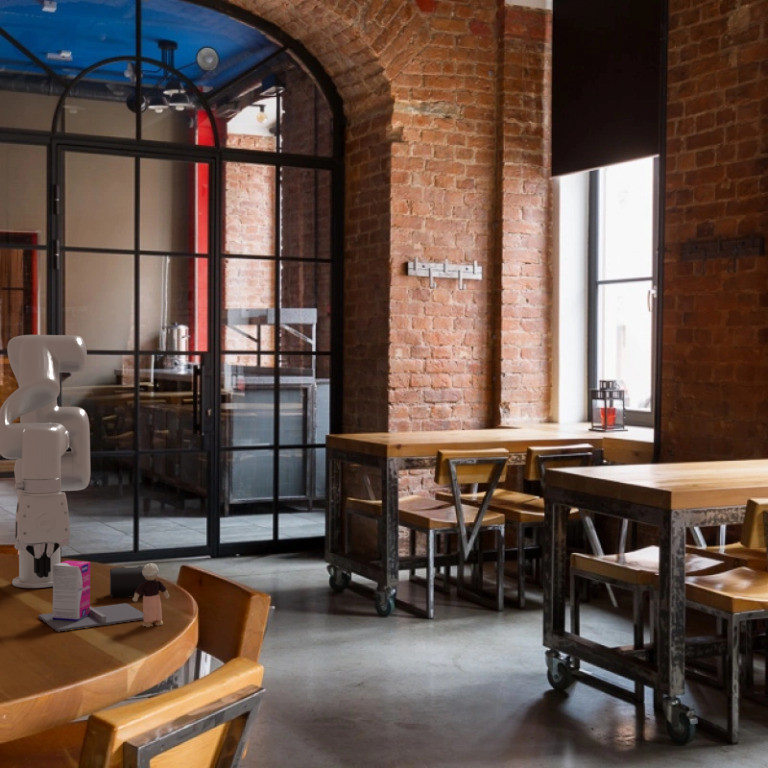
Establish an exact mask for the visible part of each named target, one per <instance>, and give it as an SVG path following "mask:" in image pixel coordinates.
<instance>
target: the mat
mask: <svg viewBox="0 0 768 768" xmlns="http://www.w3.org/2000/svg"><path fill="white" fill-rule="evenodd" d="M52 615H53V612H52V613H51V612H50V613H44V614H43V613H42V614H38V619H40V620H41V621H42V620H43V622H44V623H45V622H46V623H47V624H46V623H45V624H46V625H47V626H49V627H50V628H52V630H54V629H55V630H54V631H55V632H57V631H58V632H57V633H61V632H60V631H65V632H67V631H66V630H71V629H78V628H85V627H92V626H100V625H107V626H110V625H109V624H114V625H117V624H116V623H121V624H123V623H122V622H128V623H131V622H130V621H134V622H136V621H135V620H141V621H144V619H143V611H141V610H139V609H137V608H135V607H134V606H132V605H131V604H129V603H125V602H124V603H119V604H118V603H117V604H112V605H110V604H109V605H102V606H94V607H92V606H91V605H90V615H89V616H86V617H84V618H82V619H80V620H78V621H77V622H73V621H55V620H52ZM100 627H101V626H100Z"/></svg>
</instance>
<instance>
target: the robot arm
mask: <svg viewBox="0 0 768 768" xmlns="http://www.w3.org/2000/svg"><path fill="white" fill-rule="evenodd" d="M86 346H87V345H86V342H85V341H84V339H83V337H82V336H80V335H76V334H74V335H72V334H71V335H70V334H68V335H67V334H65V335H64V334H57V335H56V334H53V335H52V334H25V335H24V334H23V335H18V336H14V337H12V338H11V339H10V340H8V343H7V348H6V349H7V356H8V358H7V359H8V362H9V365H10V368H11V370H12V372H13V373H12V374H13V375H14V377H15V379H16V382H17V385H18V388H17V389H16V390H14V392H12V393H11V394H10V395H9V396H8V397H7V398H6V399H5V400H4V402H3V404H2V405H1V407H0V456H2V458H4V459H8V460H15V463H14V469H13V471H14V479H15V483H14V489H15V490H16V491H17V492H16V493H17V494H16V495H17V504H16V512H15V519H14V521H15V522H14V523H15V524H14V538H15V543H14V549H16V550H18V566H19V567H18V571H19V573H18V574H19V575H18V576H16V577H14V578H13V579H12V586H14V587H16V588H22V589H40V588H42V589H45V588H53V565H56V564H58V563H61V548H63V547H66V546H69V544H70V540H69V539H70V534H71V533H70V531H71V527H70V514H69V508H68V500H67V495H66V492H72V491H73V492H74V491H82V490H85V489H86V488H87V487H88V486H89V485H90V482H91V481H90V480H91V437H90V436H91V433H90V432H91V431H90V430H91V429H90V421H89V420H90V419H89V416H88V413H87V412H86V410H85V409H83V408H82V407H78V406H59V404H58V399H57V398H58V397H59V396H60V392H61V385H60V384H61V383H60V381H61V380H60V373H81V372H83V371H84V370H85V368H86V366H87V363H88V362H87V359H88V356H87V355H88V354H87V353H88V351H87V347H86ZM18 418H20V419H19V421H20V422H17V423H14V421H15V420H17V419H18ZM69 448H70V449H71V451H67V450H69Z"/></svg>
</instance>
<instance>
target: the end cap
mask: <svg viewBox="0 0 768 768" xmlns="http://www.w3.org/2000/svg"><path fill="white" fill-rule="evenodd" d="M144 566H145V565H143V566H142V565H139V566H137V567H123V566H121V567H117V566H116V567H113V568H110V569H109V595H110V597H111V598H112V597H121V598H130V597H129V596H134V594H135V591H136V589H137V588H138V586H139V585H140V584H142V583H144V582H147V581H148V580H146V579H145V577H144V576H143V573H142V570H143V567H144ZM155 580H157V577H156V578H155ZM143 595H144V594H142V595H140V596H139V597H143Z"/></svg>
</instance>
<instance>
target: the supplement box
mask: <svg viewBox="0 0 768 768" xmlns="http://www.w3.org/2000/svg"><path fill="white" fill-rule="evenodd" d="M60 562H61V561H60ZM91 563H92V562H90V561H83V560H81V561H80V560H79V561H78V560H63V561H62V562H61V563H58V564H56V565H53V586H52V613H53V615H52V620H55V621H73V622H77V621H78V620H80V619H82V618H84V617H86V616H89V615H90V606H91V568H92V567H91V566H92V565H91Z"/></svg>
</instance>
